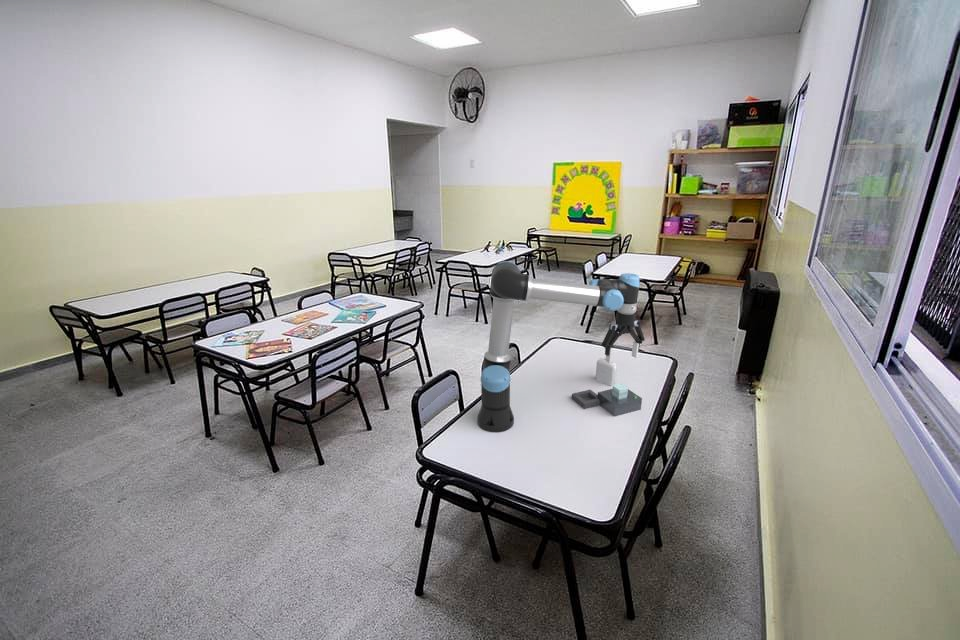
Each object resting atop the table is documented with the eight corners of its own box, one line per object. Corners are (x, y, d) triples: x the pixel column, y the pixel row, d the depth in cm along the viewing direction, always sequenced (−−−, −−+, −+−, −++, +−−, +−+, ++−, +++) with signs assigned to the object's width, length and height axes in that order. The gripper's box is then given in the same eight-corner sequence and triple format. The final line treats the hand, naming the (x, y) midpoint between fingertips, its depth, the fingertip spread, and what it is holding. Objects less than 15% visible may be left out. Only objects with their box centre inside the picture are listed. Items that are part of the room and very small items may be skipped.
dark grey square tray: (584, 410, 190) (584, 404, 189) (571, 399, 198) (571, 393, 197) (603, 405, 193) (603, 399, 192) (589, 395, 202) (590, 389, 201)
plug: (617, 409, 188) (619, 390, 185) (610, 403, 192) (612, 385, 189) (626, 406, 190) (628, 388, 187) (619, 401, 194) (621, 383, 191)
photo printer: (593, 380, 215) (595, 357, 211) (599, 378, 218) (601, 355, 214) (611, 388, 208) (613, 364, 204) (617, 385, 210) (619, 362, 206)
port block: (614, 417, 184) (615, 404, 182) (596, 404, 194) (597, 391, 192) (640, 410, 189) (642, 397, 186) (622, 397, 199) (623, 385, 197)
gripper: (606, 318, 170) (602, 368, 177) (657, 310, 178) (651, 357, 185) (595, 313, 176) (591, 360, 183) (644, 305, 185) (639, 351, 192)
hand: (621, 359), depth 184 cm, fingers open, 13 cm apart
